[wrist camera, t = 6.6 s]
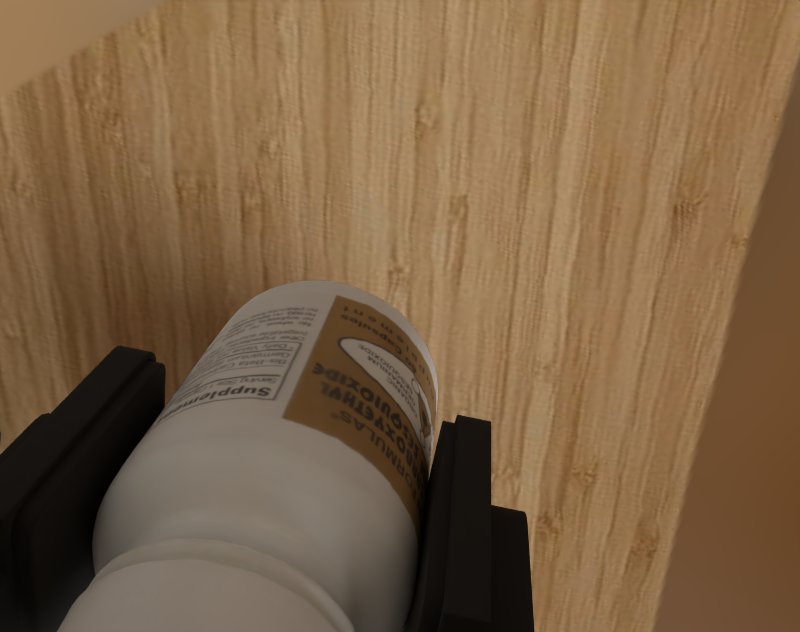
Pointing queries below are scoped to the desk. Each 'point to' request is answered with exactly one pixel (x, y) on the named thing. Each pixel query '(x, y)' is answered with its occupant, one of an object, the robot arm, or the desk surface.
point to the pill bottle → (276, 479)
